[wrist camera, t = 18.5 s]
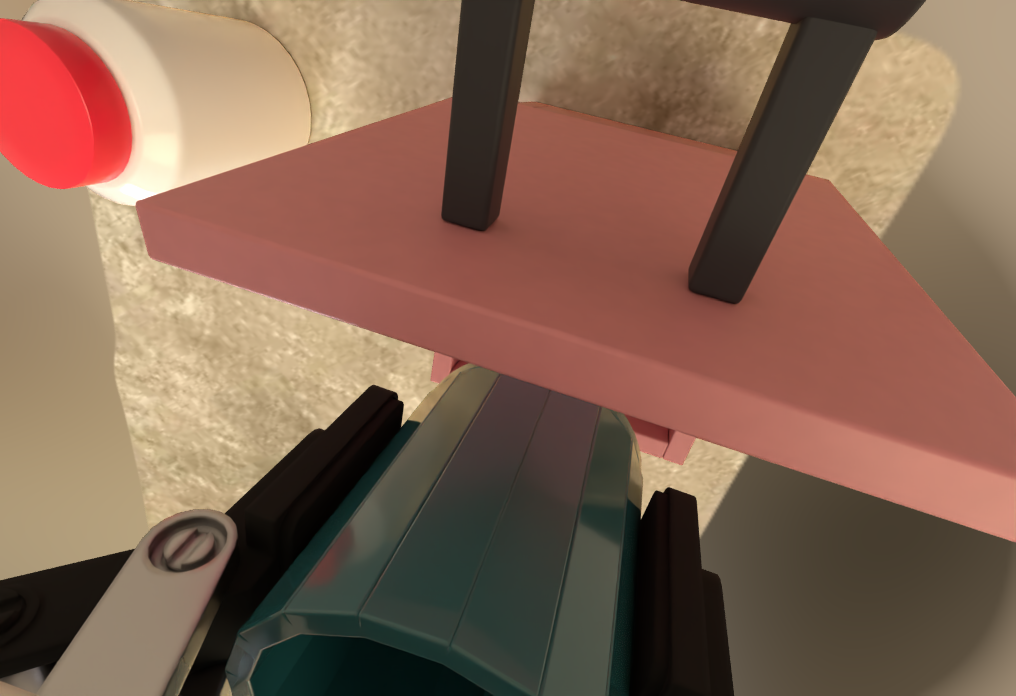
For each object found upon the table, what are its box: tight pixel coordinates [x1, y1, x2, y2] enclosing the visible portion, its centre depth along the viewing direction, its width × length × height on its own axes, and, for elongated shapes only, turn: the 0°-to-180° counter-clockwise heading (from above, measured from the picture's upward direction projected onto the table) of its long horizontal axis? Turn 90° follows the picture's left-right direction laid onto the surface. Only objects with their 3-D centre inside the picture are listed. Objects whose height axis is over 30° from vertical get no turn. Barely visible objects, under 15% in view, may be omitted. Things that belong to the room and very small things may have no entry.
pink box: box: [431, 102, 737, 465], centre depth 22 cm, size 11×11×9 cm
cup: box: [225, 363, 643, 696], centre depth 9 cm, size 5×5×6 cm
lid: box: [135, 0, 1016, 542], centre depth 9 cm, size 12×11×6 cm
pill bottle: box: [0, 0, 311, 206], centre depth 23 cm, size 8×8×11 cm
